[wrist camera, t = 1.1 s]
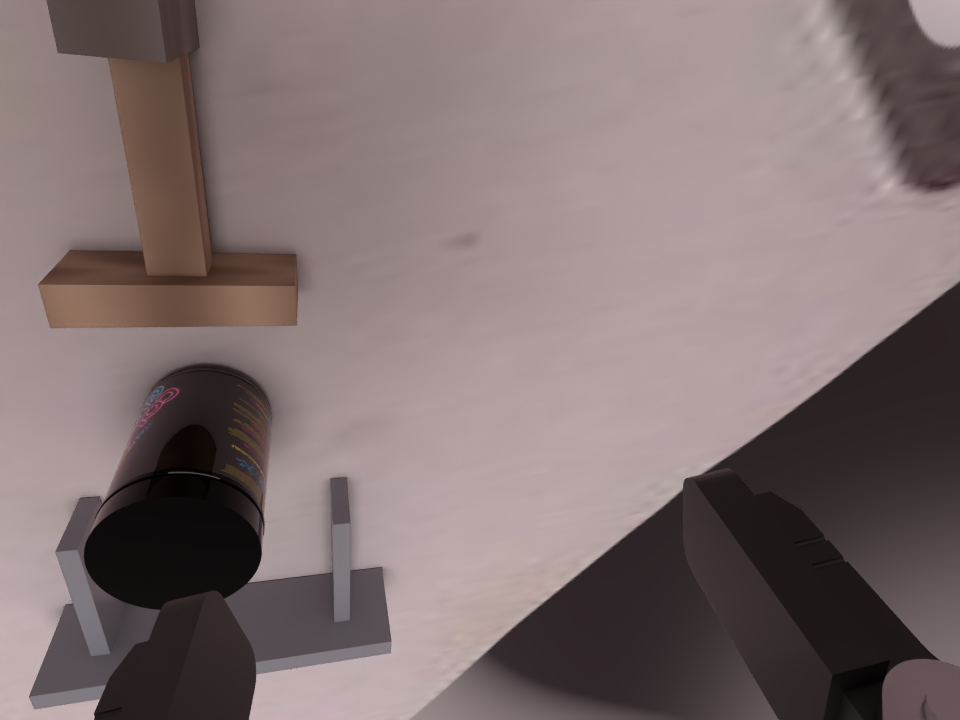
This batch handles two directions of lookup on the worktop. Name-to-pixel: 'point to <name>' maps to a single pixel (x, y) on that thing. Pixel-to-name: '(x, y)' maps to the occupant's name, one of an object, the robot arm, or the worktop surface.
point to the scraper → (158, 189)
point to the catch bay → (256, 606)
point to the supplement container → (186, 493)
